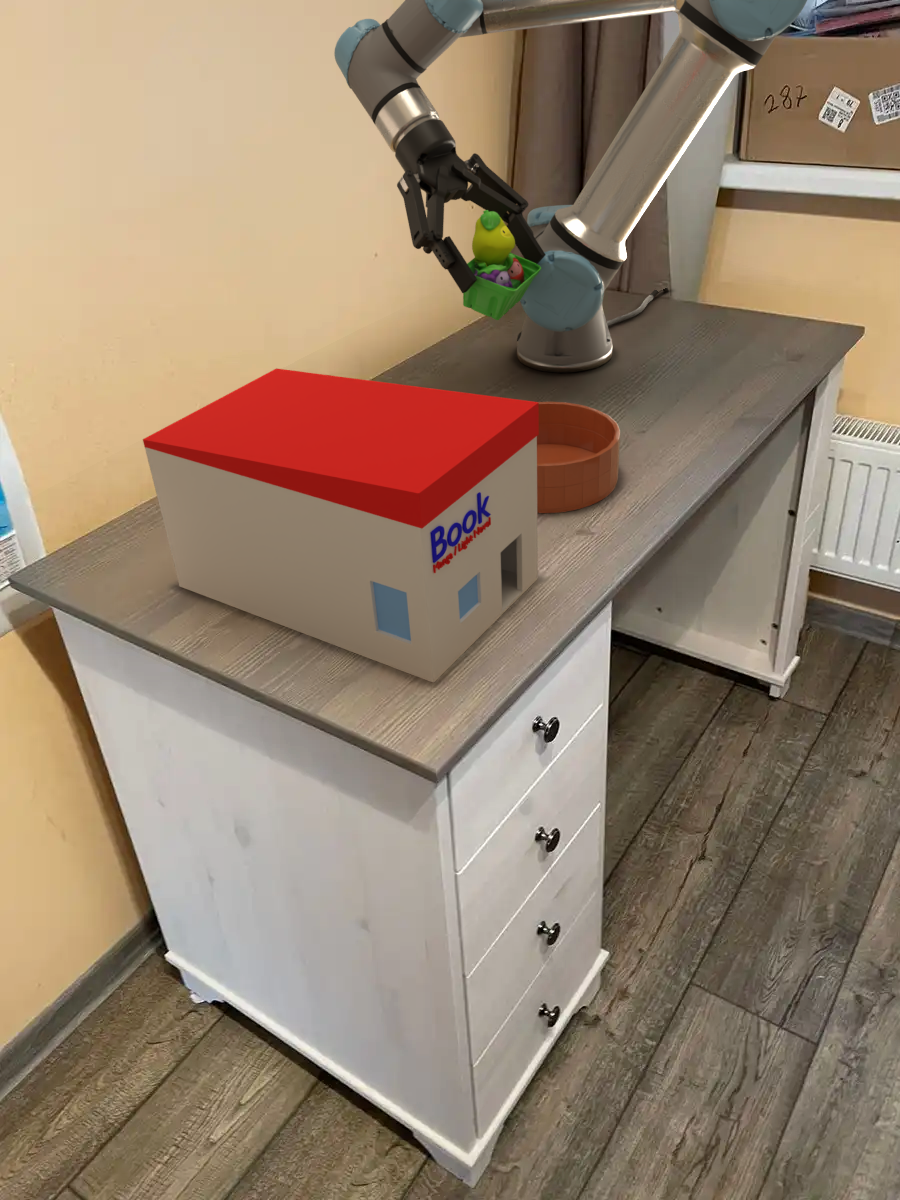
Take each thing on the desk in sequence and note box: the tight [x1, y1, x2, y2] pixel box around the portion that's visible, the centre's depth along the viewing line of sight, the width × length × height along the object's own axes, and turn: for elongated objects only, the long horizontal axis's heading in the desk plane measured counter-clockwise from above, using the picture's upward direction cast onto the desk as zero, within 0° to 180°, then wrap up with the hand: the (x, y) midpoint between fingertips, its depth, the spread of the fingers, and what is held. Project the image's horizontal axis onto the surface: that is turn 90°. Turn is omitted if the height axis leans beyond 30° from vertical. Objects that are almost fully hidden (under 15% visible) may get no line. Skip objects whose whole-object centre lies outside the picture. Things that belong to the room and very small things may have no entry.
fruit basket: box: [462, 209, 541, 321], centre depth 132 cm, size 11×9×11 cm
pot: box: [537, 401, 621, 514], centre depth 129 cm, size 18×18×6 cm
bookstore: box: [142, 367, 540, 683], centre depth 108 cm, size 21×35×21 cm, turn 57°
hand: (505, 273), depth 132 cm, fingers closed on fruit basket, 13 cm apart
